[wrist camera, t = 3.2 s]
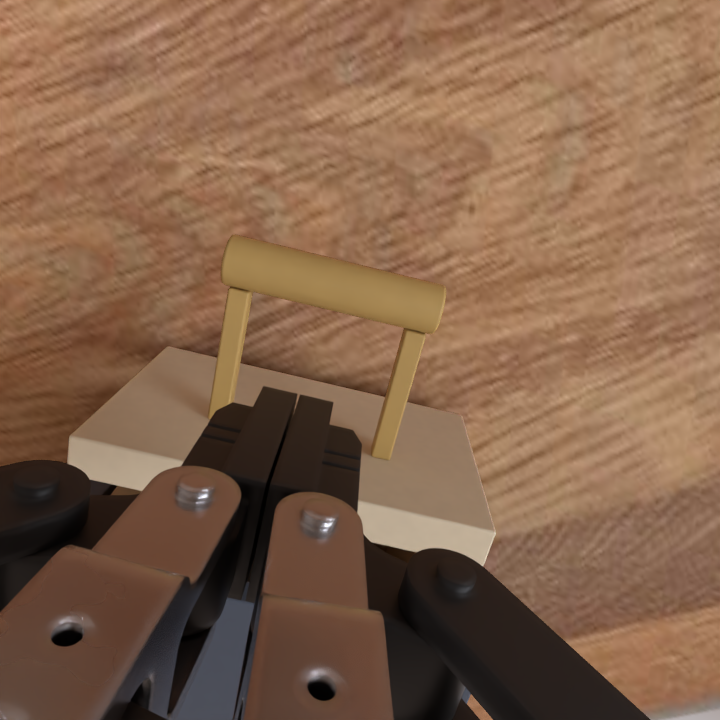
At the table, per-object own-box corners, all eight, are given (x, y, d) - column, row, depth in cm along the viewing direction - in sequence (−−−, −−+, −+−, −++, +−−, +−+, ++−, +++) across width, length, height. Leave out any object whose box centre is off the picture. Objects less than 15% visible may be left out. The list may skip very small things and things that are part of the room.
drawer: (186, 196, 20) (82, 222, 13) (508, 275, 20) (571, 340, 14) (131, 620, 26) (42, 787, 20) (377, 673, 27) (374, 853, 20)
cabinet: (150, 407, 24) (19, 553, 15) (451, 476, 24) (487, 654, 16) (118, 671, 29) (5, 893, 20) (368, 723, 29) (361, 961, 21)
